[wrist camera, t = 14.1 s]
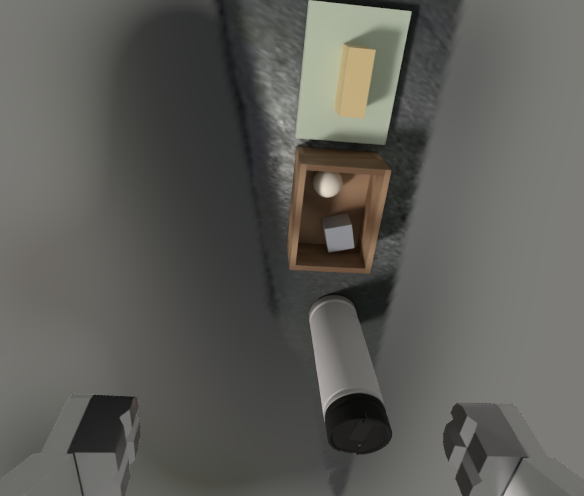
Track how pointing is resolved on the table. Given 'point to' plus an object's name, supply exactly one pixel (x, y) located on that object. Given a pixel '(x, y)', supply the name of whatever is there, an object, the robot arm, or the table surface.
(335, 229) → the slate cube
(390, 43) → the lid
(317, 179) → the cream ball
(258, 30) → the table surface
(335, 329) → the travel mug
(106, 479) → the robot arm
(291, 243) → the walnut box
